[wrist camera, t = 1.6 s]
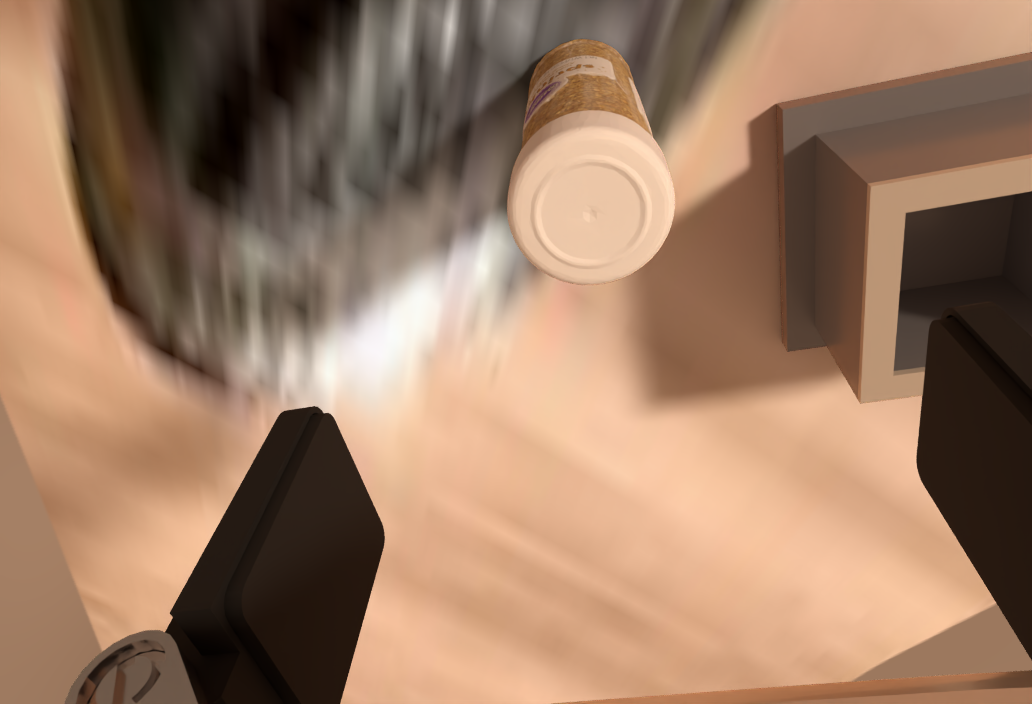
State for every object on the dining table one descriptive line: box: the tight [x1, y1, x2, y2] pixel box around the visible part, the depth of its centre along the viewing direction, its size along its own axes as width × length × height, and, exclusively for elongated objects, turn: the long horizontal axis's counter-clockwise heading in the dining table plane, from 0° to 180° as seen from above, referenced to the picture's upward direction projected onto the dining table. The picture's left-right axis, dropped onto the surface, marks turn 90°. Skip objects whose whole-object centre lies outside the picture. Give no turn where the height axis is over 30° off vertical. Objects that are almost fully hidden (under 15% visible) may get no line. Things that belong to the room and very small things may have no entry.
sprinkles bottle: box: [507, 39, 675, 285], centre depth 24 cm, size 5×5×13 cm
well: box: [777, 52, 1032, 404], centre depth 29 cm, size 12×12×7 cm
